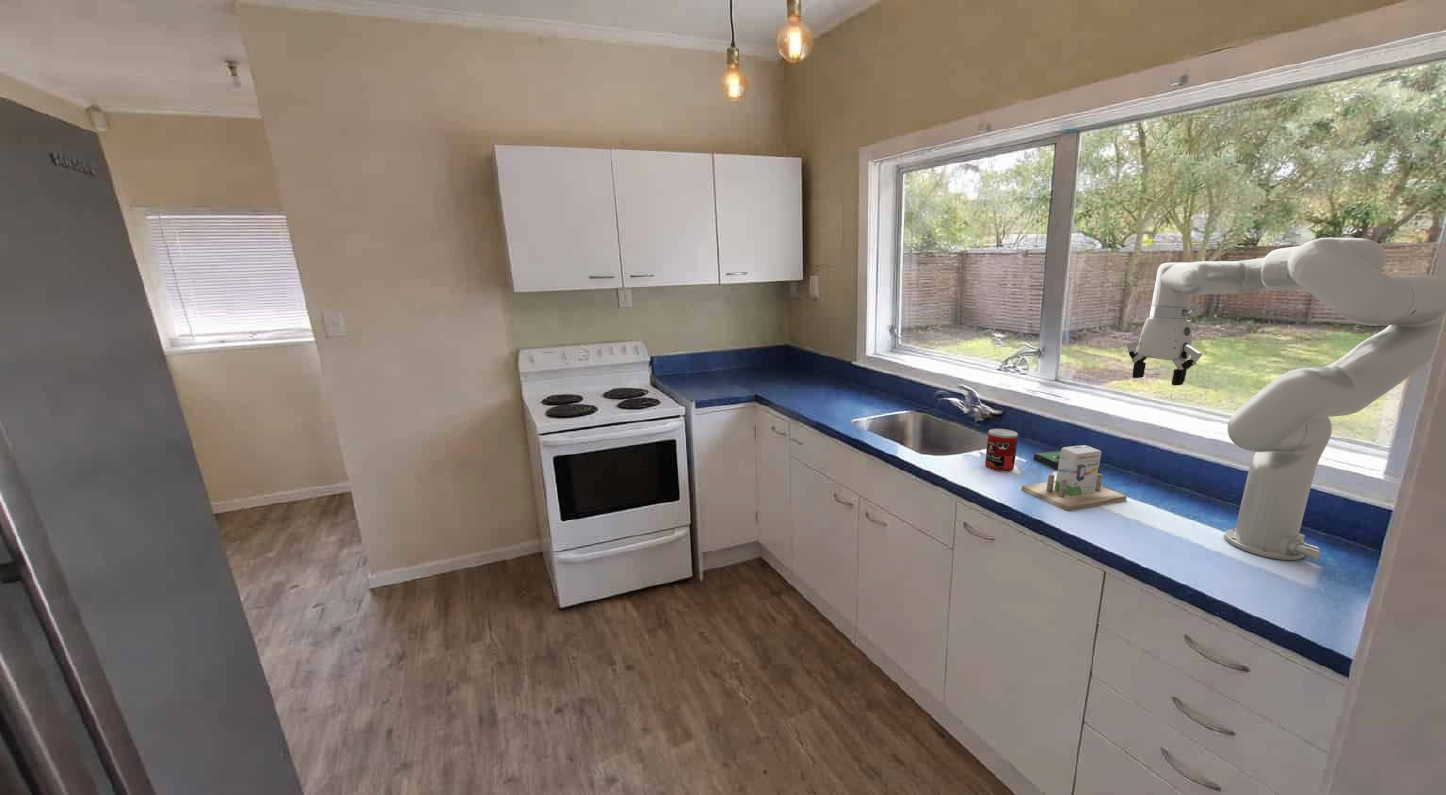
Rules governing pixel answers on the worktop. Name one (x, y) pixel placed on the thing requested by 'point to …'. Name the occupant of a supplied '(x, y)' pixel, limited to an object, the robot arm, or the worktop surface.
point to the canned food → (1001, 449)
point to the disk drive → (1049, 459)
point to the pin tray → (1076, 501)
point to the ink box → (1078, 469)
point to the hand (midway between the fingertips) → (1156, 381)
